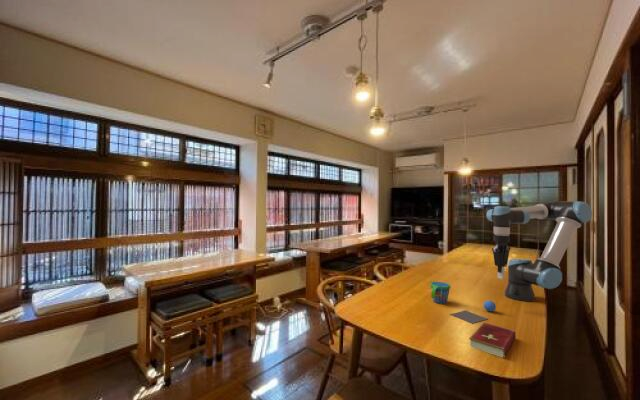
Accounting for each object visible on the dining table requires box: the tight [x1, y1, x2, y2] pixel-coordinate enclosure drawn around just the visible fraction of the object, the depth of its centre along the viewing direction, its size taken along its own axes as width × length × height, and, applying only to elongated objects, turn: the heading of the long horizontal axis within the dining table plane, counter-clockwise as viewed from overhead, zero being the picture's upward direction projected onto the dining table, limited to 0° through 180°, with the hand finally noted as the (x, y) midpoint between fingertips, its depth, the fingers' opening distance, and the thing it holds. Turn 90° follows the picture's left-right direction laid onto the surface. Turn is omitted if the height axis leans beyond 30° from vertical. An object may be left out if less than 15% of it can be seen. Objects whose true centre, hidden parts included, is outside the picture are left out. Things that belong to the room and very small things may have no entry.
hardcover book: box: [468, 321, 517, 359], centre depth 116 cm, size 12×21×4 cm, turn 136°
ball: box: [483, 300, 497, 312], centre depth 149 cm, size 6×6×6 cm
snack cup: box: [429, 281, 451, 305], centre depth 163 cm, size 16×10×10 cm
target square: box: [449, 310, 489, 325], centre depth 142 cm, size 12×12×1 cm
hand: (500, 278), depth 154 cm, fingers closed
